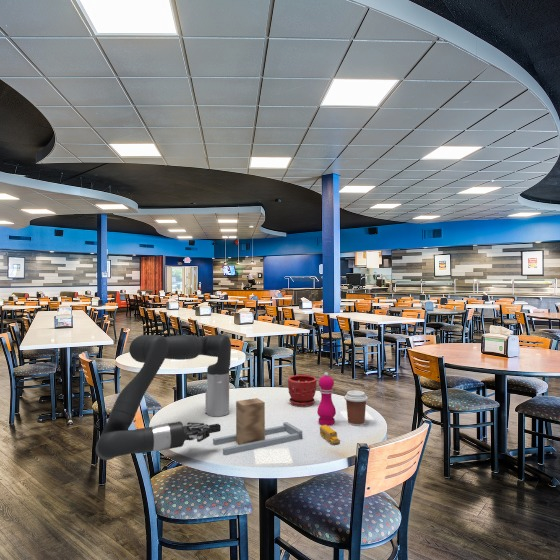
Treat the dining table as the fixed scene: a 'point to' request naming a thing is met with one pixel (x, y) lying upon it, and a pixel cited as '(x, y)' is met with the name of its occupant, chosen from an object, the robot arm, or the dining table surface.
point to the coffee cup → (356, 407)
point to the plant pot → (302, 390)
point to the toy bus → (329, 434)
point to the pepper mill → (326, 401)
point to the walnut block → (250, 421)
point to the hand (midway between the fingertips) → (219, 427)
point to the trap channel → (292, 430)
